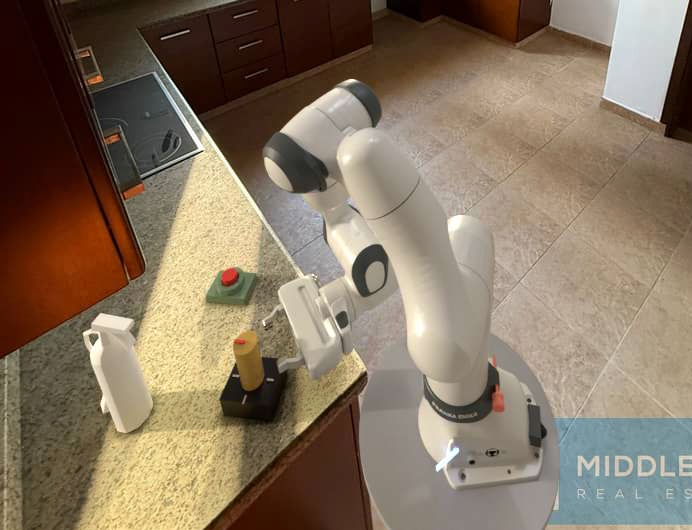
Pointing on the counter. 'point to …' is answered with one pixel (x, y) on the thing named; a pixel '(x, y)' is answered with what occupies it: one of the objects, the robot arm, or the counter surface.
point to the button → (229, 277)
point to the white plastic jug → (119, 372)
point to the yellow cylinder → (248, 360)
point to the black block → (254, 394)
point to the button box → (232, 289)
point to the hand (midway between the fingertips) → (270, 345)
